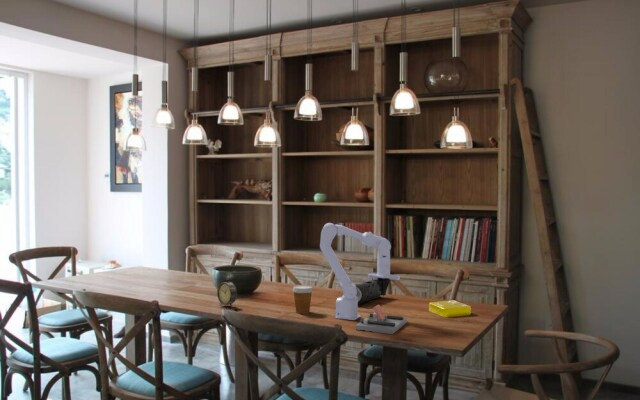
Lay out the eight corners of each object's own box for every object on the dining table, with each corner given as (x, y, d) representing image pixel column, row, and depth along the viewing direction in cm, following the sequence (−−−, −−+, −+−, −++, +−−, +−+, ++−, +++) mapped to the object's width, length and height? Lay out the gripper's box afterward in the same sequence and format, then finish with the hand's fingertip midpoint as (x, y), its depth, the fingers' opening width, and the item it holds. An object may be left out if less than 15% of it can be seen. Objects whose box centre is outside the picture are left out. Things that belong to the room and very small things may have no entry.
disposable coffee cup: (289, 311, 274) (289, 285, 274) (308, 309, 278) (308, 284, 278) (296, 315, 266) (296, 289, 265) (315, 313, 269) (316, 287, 269)
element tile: (427, 311, 277) (427, 301, 277) (453, 308, 282) (454, 299, 282) (444, 318, 263) (444, 307, 263) (472, 315, 268) (472, 305, 268)
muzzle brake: (387, 298, 307) (387, 278, 307) (361, 307, 284) (362, 286, 283) (371, 296, 312) (371, 276, 312) (345, 305, 289) (345, 284, 288)
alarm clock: (216, 305, 286) (216, 272, 285) (225, 303, 290) (225, 271, 289) (230, 308, 278) (230, 275, 278) (239, 307, 282) (239, 274, 282)
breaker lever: (379, 321, 244) (373, 307, 245) (383, 319, 249) (376, 305, 250) (382, 320, 244) (375, 306, 245) (385, 318, 248) (379, 304, 249)
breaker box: (355, 329, 240) (355, 320, 240) (372, 318, 260) (372, 309, 260) (392, 334, 233) (392, 324, 233) (407, 322, 253) (407, 313, 253)
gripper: (365, 265, 259) (365, 295, 260) (396, 267, 253) (396, 298, 254) (370, 263, 266) (370, 292, 266) (401, 265, 260) (401, 295, 260)
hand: (383, 295), depth 261 cm, fingers closed
